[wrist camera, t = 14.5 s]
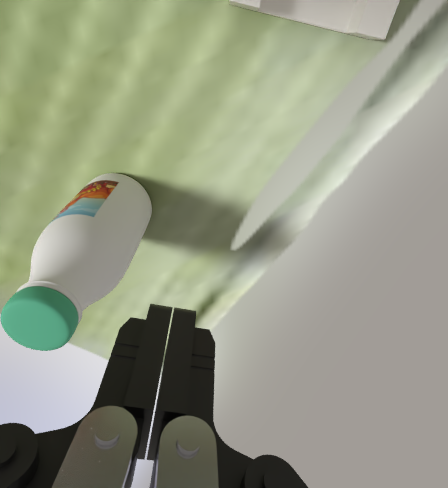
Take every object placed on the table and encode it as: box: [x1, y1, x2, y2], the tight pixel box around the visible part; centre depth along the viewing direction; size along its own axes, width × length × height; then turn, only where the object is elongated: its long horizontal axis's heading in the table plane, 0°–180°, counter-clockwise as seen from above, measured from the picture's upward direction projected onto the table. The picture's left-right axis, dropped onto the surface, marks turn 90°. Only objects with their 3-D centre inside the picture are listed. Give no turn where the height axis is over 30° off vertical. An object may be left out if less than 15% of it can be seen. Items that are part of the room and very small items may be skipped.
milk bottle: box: [1, 173, 152, 351], centre depth 32 cm, size 8×8×20 cm
